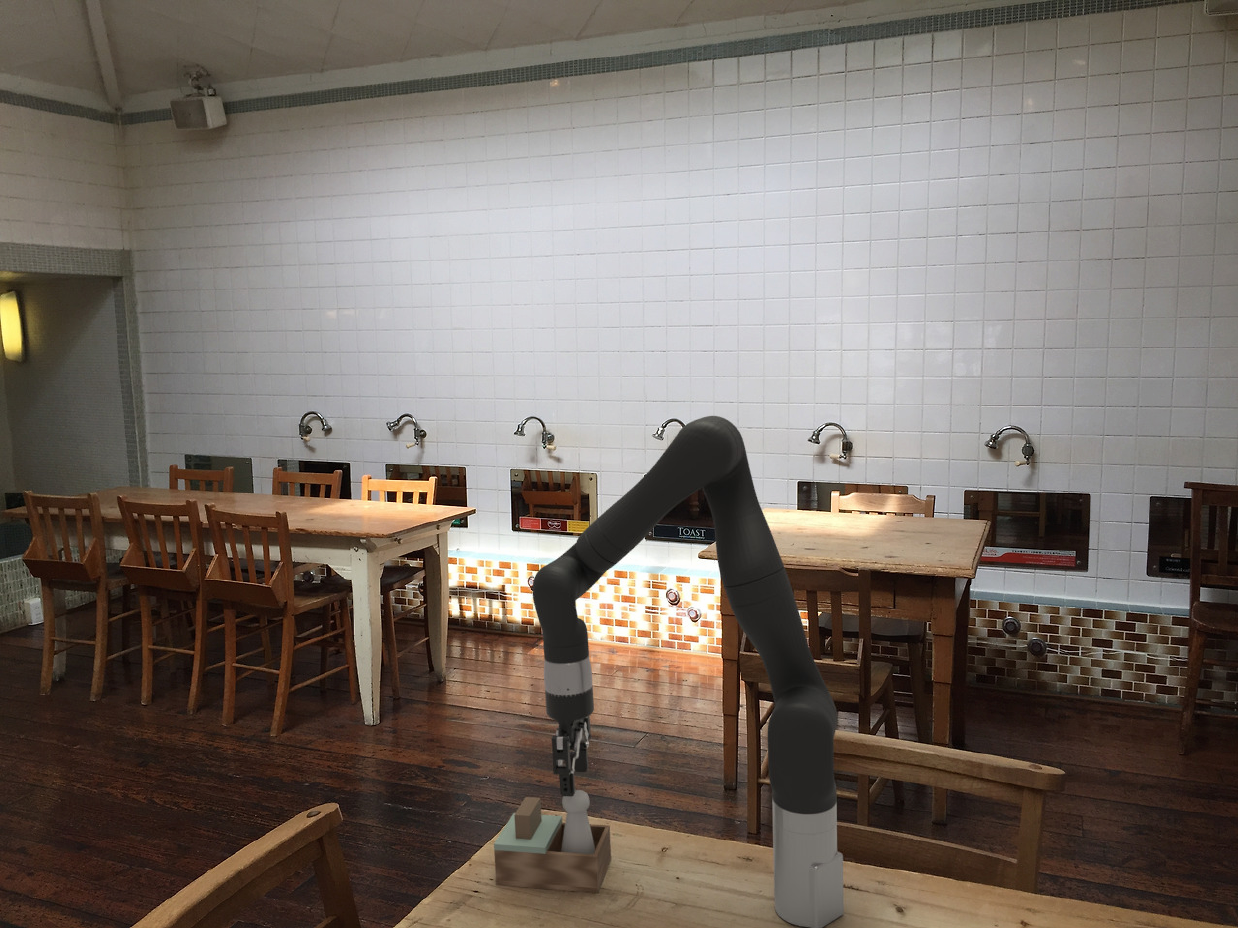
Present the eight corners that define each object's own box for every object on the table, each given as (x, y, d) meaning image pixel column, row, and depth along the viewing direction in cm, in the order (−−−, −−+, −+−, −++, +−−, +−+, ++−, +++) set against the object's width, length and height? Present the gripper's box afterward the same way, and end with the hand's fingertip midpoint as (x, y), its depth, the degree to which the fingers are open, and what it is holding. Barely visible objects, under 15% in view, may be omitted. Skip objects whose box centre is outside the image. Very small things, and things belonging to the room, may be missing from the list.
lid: (562, 821, 156) (560, 793, 155) (545, 853, 146) (543, 823, 145) (514, 818, 157) (512, 790, 157) (494, 849, 148) (492, 819, 147)
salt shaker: (580, 884, 146) (577, 805, 145) (553, 873, 150) (549, 796, 148) (604, 867, 151) (600, 790, 149) (577, 856, 154) (573, 781, 153)
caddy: (611, 859, 155) (609, 825, 154) (598, 892, 145) (596, 856, 145) (515, 852, 158) (513, 818, 157) (496, 884, 149) (494, 848, 148)
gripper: (580, 701, 139) (587, 805, 141) (601, 669, 153) (607, 764, 155) (532, 700, 141) (539, 803, 143) (557, 668, 155) (563, 762, 157)
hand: (574, 782), depth 149 cm, fingers open, 8 cm apart
